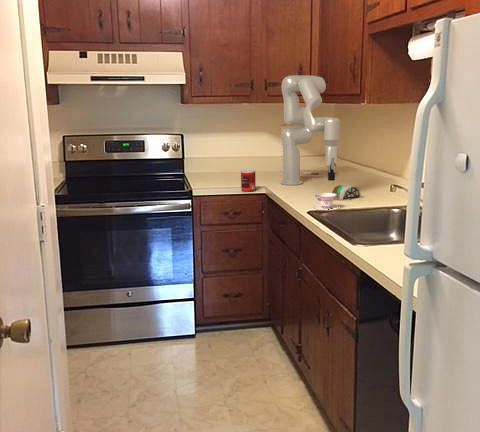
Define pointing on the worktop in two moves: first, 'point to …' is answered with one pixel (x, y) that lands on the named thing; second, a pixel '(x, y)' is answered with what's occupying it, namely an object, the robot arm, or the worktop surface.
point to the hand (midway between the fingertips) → (331, 180)
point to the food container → (346, 192)
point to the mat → (334, 198)
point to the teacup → (326, 201)
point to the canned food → (248, 181)
